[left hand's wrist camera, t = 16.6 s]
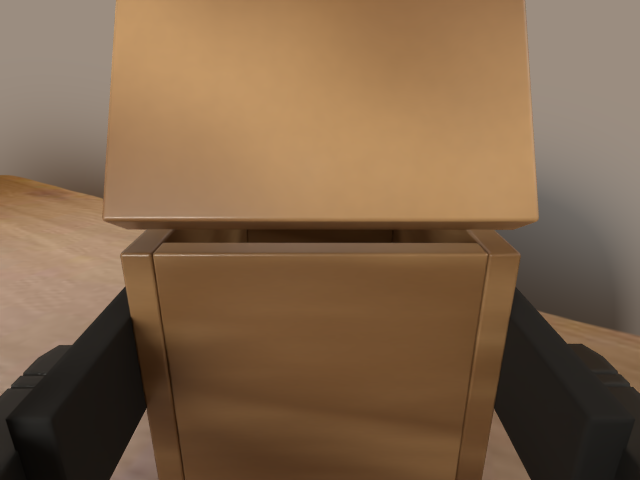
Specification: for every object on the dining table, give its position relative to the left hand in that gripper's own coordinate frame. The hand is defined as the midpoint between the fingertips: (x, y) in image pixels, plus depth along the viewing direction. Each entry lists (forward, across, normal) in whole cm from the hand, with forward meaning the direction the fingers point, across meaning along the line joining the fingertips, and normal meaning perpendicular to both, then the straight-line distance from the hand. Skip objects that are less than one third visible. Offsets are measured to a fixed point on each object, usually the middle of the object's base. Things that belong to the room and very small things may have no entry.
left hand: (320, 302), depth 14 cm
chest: (+3, 0, -6) cm, 7 cm away
